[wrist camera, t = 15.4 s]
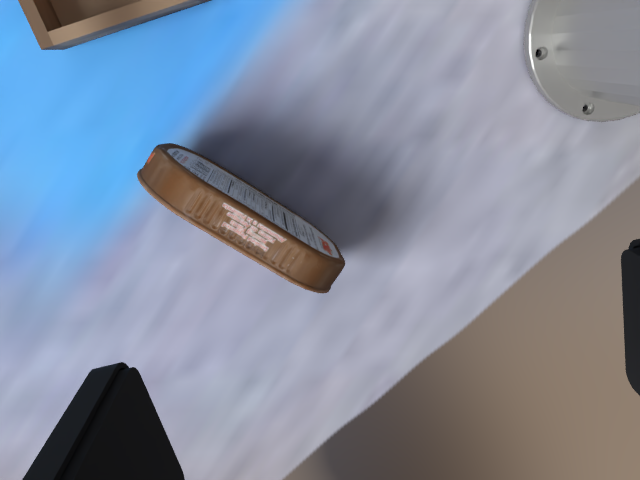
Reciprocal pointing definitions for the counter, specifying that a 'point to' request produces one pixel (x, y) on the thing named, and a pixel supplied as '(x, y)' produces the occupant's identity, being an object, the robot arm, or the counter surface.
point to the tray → (92, 18)
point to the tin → (241, 217)
